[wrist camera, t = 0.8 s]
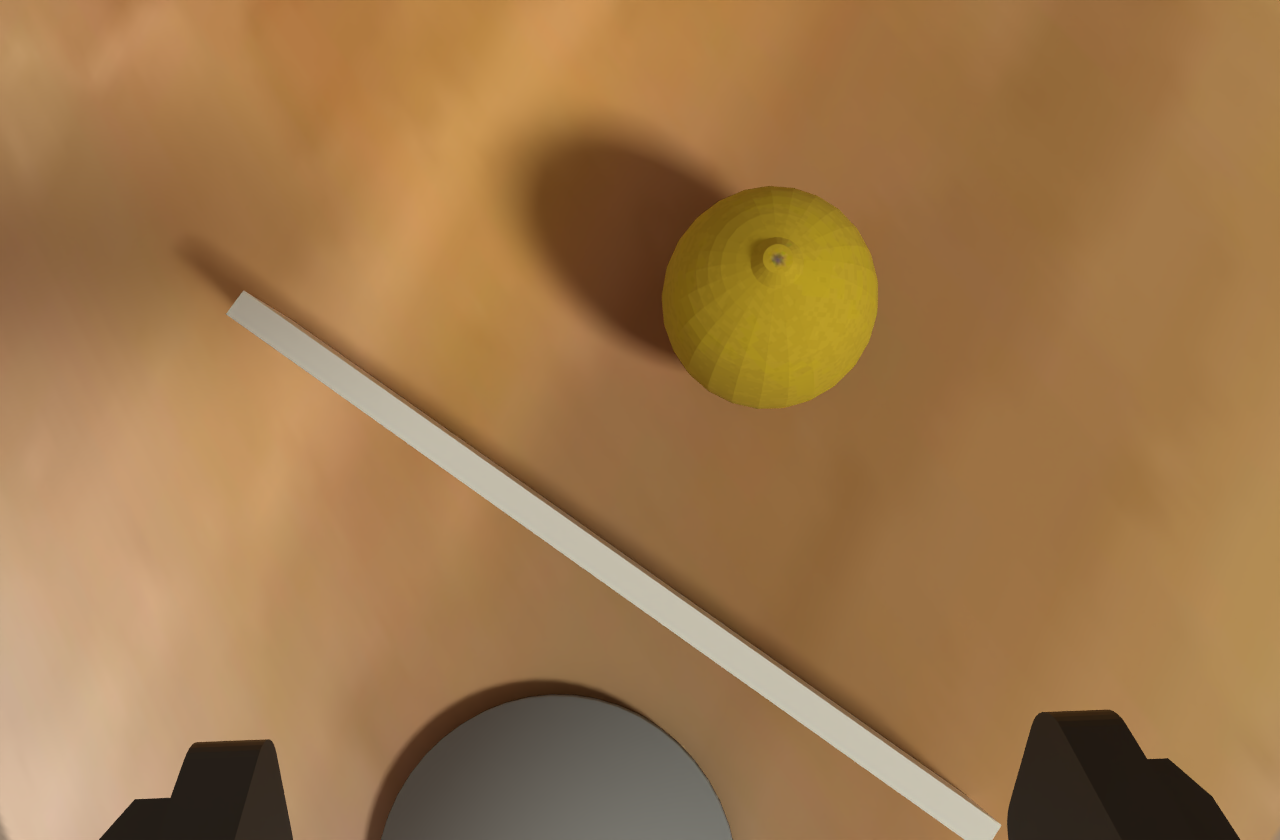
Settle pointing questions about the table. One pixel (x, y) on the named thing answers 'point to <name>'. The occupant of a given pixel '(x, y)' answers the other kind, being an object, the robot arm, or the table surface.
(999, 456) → the table surface
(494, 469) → the low wall
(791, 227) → the lemon
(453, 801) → the slate mat
